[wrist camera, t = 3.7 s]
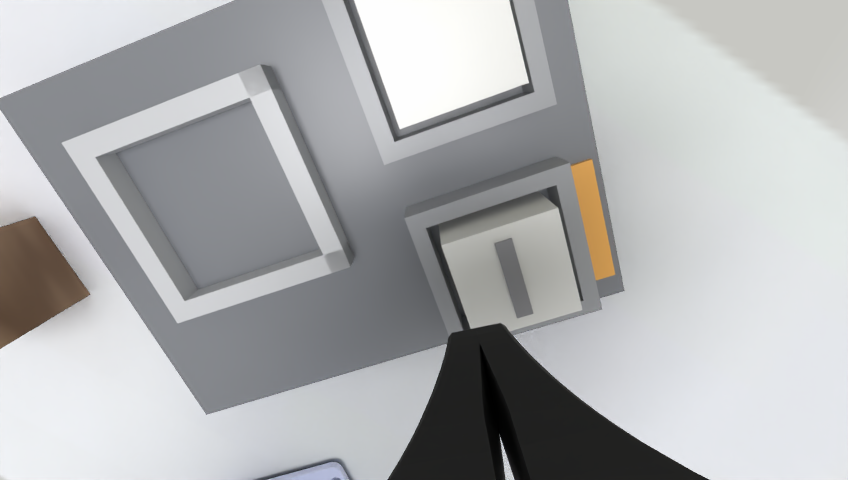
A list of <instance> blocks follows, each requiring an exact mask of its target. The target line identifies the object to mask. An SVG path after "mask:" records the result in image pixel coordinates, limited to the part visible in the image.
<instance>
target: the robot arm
mask: <svg viewBox="0 0 848 480" xmlns="http://www.w3.org/2000/svg"><path fill="white" fill-rule="evenodd" d="M499 434H500V435H499ZM500 437H501V440H502V443H503V446H504V449H505V452H506V455H507V458H508V461H509V464H510V467H511V470H512V473H513V476H514V479H515V480H709V479H707V478H705V477H703V476H701V475H699V474H697V473H695V472H693V471H691V470H690V469H688V468H686V467H684V466H683V465H681V464H679V463H678V462H676V461H674V460H672V459H671V458H669V457H667V456H665V455H664V454H662V453H660V452H658V451H657V450H655V449H653V448H651V447H650V446H648V445H646V444H644V443H643V442H641V441H640V440H638V439H637V438H635V437H633V436H632V435H630V434H629V433H627V432H626V431H624V430H623V429H621V428H620V427H618V426H617V425H615V424H614V423H612V422H611V421H609V420H608V419H607V418H605V417H604V416H602V415H601V414H599V413H598V412H597V411H595V410H594V409H593V408H591V407H590V406H589V405H587V404H586V403H585V402H583V401H582V400H581V399H579V398H578V397H577V396H576V395H574V394H573V393H572V392H571V391H570V390H568V389H567V388H566V387H565V386H564V385H562V384H561V383H560V382H559V381H558V380H557V379H555V378H554V377H553V376H552V375H551V374H550V373H549V372H548V371H547V370H546V369H545V368H543V367H542V366H541V365H540V364H539V363H538V362H537V361H536V360H535V359H534V358H533V357H532V356H531V355H530V354H529V353H528V352H527V351H526V350H525V349H524V348H523V347H522V346H521V344H520V343H519V342H518V341H517V340H516V339H515V338H514V336H513V335H512V334H511V333H510V331H509V330H508V329H507V327H506V326H505V325H503V324H502V323H497V324H492V325H487V326H482V327H478V328H473V329H468V330H463V331H458V332H453V333H451V334H450V336H449V337H448V343H447V348H446V352H445V356H444V360H443V363H442V366H441V370H440V373H439V375H438V378H437V381H436V384H435V387H434V389H433V392H432V395H431V397H430V399H429V402H428V404H427V406H426V409H425V411H424V413H423V415H422V418H421V420H420V422H419V424H418V426H417V428H416V430H415V433H414V435H413V437H412V438H411V440H410V442H409V444H408V446H407V448H406V450H405V451H404V453H403V455H402V457H401V459H400V460H399V462H398V464H397V465H396V467H395V469H394V470H393V472H392V473H391V475H390V477H389V478H388V480H505V473H504V465H503V457H502V450H501V442H500ZM336 477H337V478H336ZM267 480H349V478H348V476H347V474H346V473H345V471H344V469H343V467H342V466H341V465H340V464H339V463H337V462H330V463H326V464H322V465H319V466H315V467H311V468H308V469H304V470H300V471H297V472H293V473H289V474H286V475H282V476H278V477H275V478H271V479H267Z"/></svg>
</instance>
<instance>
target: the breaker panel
mask: <svg viewBox="0 0 848 480" xmlns="http://www.w3.org/2000/svg"><path fill="white" fill-rule="evenodd" d="M0 110H1V111H2V113H3V114H4V116H5V117H6V119H7V120H8V122H9V123H10V125H11V126H12V128H13V129H14V130H15V132H16V133H17V135H18V136H19V138H20V139H21V141H22V142H23V144H24V145H25V147H26V148H27V150H28V151H29V153H30V154H31V156H32V157H33V159H34V160H35V162H36V163H37V165H38V166H39V167H40V169H41V170H42V172H43V173H44V175H45V176H46V178H47V179H48V181H49V182H50V184H51V185H52V187H53V188H54V190H55V191H56V193H57V194H58V196H59V197H60V199H61V200H62V202H63V203H64V204H65V206H66V207H67V209H68V210H69V212H70V213H71V215H72V216H73V218H74V219H75V221H76V222H77V224H78V225H79V227H80V228H81V230H82V231H83V233H84V234H85V236H86V237H87V238H88V240H89V241H90V243H91V244H92V246H93V247H94V249H95V250H96V252H97V253H98V255H99V256H100V258H101V259H102V261H103V262H104V264H105V265H106V267H107V268H108V270H109V271H110V273H111V274H112V275H113V277H114V278H115V280H116V281H117V283H118V284H119V286H120V287H121V289H122V290H123V292H124V293H125V295H126V296H127V298H128V299H129V301H130V302H131V304H132V305H133V307H134V308H135V310H136V311H137V312H138V314H139V315H140V317H141V318H142V320H143V321H144V323H145V324H146V326H147V327H148V329H149V330H150V332H151V333H152V335H153V336H154V338H155V339H156V341H157V342H158V344H159V345H160V347H161V348H162V349H163V351H164V352H165V354H166V355H167V357H168V358H169V360H170V361H171V363H172V364H173V366H174V367H175V369H176V370H177V372H178V373H179V375H180V376H181V378H182V379H183V381H184V382H185V384H186V385H187V386H188V388H189V389H190V391H191V392H192V394H193V395H194V397H195V398H196V400H197V401H198V403H199V404H200V406H201V407H202V409H203V410H204V412H205V413H206V415H207V414H210V413H214V412H217V411H220V410H224V409H227V408H230V407H234V406H237V405H241V404H244V403H247V402H251V401H254V400H257V399H261V398H264V397H268V396H271V395H274V394H278V393H281V392H284V391H288V390H291V389H295V388H298V387H301V386H305V385H308V384H311V383H315V382H318V381H322V380H325V379H328V378H332V377H335V376H339V375H342V374H345V373H349V372H352V371H355V370H359V369H362V368H366V367H369V366H372V365H376V364H379V363H382V362H386V361H389V360H393V359H396V358H399V357H403V356H406V355H409V354H413V353H416V352H420V351H423V350H426V349H430V348H433V347H436V346H440V345H443V344H447V343H448V337H449V336H450V334H451V333H453V332H458V331H463V330H468V329H471V328H470V325H469V323H468V320H467V317H466V314H465V311H464V308H463V306H462V303H461V300H460V297H459V294H458V291H457V289H456V286H455V283H454V280H453V277H452V275H451V272H450V269H449V266H448V263H447V260H446V258H445V255H444V252H443V249H442V246H441V240H440V232H439V225H438V224H440V223H443V222H446V221H449V220H452V219H455V218H458V217H461V216H464V215H467V214H470V213H473V212H476V211H479V210H482V209H485V208H488V207H491V206H494V205H497V204H500V203H503V202H506V201H509V200H512V199H515V198H518V197H521V196H524V195H527V194H530V193H533V192H536V191H539V192H540V193H541V194H542V195H543V196H545V197H546V198H547V199H548V200H549V201H551V202H552V203H553V204H554V205H555V206H557V207H558V209H559V213H560V218H561V222H562V226H563V230H564V234H565V239H566V243H567V247H568V251H569V255H570V259H571V264H572V268H573V272H574V276H575V280H576V285H577V289H578V293H579V297H580V301H581V306H582V310H581V311H577V312H574V313H571V314H567V315H564V316H560V317H557V318H554V319H550V320H547V321H544V322H540V323H537V324H533V325H530V326H527V327H523V328H520V329H516V330H513V331H510V333H511V334H512V335H516V334H519V333H522V332H526V331H529V330H533V329H536V328H539V327H543V326H546V325H550V324H553V323H557V322H560V321H563V320H567V319H570V318H574V317H577V316H580V315H584V314H587V313H591V312H594V311H597V310H601V309H602V307H601V302H600V298H602V297H605V296H609V295H612V294H615V293H619V292H622V291H624V287H623V282H622V276H621V271H620V266H619V261H618V256H617V251H616V246H615V240H614V235H613V230H612V225H611V220H610V215H609V210H608V204H607V199H606V194H605V189H604V184H603V179H602V174H601V168H600V163H599V158H598V153H597V148H596V143H595V138H594V132H593V127H592V122H591V117H590V112H589V107H588V102H587V96H586V91H585V86H584V81H583V76H582V71H581V66H580V60H579V55H578V50H577V45H576V40H575V35H574V30H573V24H572V19H571V14H570V9H569V4H568V0H234V1H232V2H229V3H227V4H225V5H222V6H220V7H217V8H215V9H213V10H210V11H208V12H205V13H203V14H201V15H198V16H196V17H193V18H191V19H189V20H186V21H184V22H181V23H179V24H177V25H174V26H172V27H170V28H167V29H165V30H162V31H160V32H158V33H155V34H153V35H150V36H148V37H146V38H143V39H141V40H138V41H136V42H134V43H131V44H129V45H126V46H124V47H122V48H119V49H117V50H114V51H112V52H110V53H107V54H105V55H102V56H100V57H98V58H95V59H93V60H90V61H88V62H86V63H83V64H81V65H78V66H76V67H74V68H71V69H69V70H66V71H64V72H62V73H59V74H57V75H54V76H52V77H50V78H47V79H45V80H42V81H40V82H38V83H35V84H33V85H31V86H28V87H26V88H23V89H21V90H19V91H16V92H14V93H11V94H9V95H7V96H4V97H2V98H0Z"/></svg>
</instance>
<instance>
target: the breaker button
mask: <svg viewBox="0 0 848 480" xmlns="http://www.w3.org/2000/svg"><path fill="white" fill-rule="evenodd" d="M438 225H439V232H440V240H441V246H442V249H443V252H444V255H445V258H446V260H447V263H448V266H449V269H450V272H451V275H452V277H453V280H454V283H455V286H456V289H457V291H458V294H459V297H460V300H461V303H462V306H463V308H464V311H465V314H466V317H467V320H468V323H469V325H470V328H471V329H473V328H478V327H482V326H487V325H492V324H497V323H502V324H503V325H505V326H506V327H507V329H508V330H509V331H513V330H516V329H520V328H523V327H527V326H530V325H533V324H537V323H540V322H544V321H547V320H550V319H554V318H557V317H560V316H564V315H567V314H571V313H574V312H577V311H581V310H582V306H581V301H580V297H579V293H578V289H577V285H576V280H575V276H574V272H573V268H572V264H571V259H570V255H569V251H568V247H567V243H566V239H565V234H564V230H563V226H562V222H561V218H560V213H559V209H558V207H557V206H555V205H554V204H553V203H552V202H551V201H549V200H548V199H547V198H546V197H545V196H543V195H542V194H541V193H540V192H539V191H536V192H533V193H530V194H527V195H524V196H521V197H518V198H515V199H512V200H509V201H506V202H503V203H500V204H497V205H494V206H491V207H488V208H485V209H482V210H479V211H476V212H473V213H470V214H467V215H464V216H461V217H458V218H455V219H452V220H449V221H446V222H443V223H440V224H438Z"/></svg>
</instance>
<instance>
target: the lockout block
mask: <svg viewBox="0 0 848 480" xmlns="http://www.w3.org/2000/svg"><path fill="white" fill-rule="evenodd" d="M89 295H90V293H89V292H88V290H87V289H86V288H85V286H84V285H83V283H82V282H81V280H80V279H79V278H78V276H77V275H76V273H75V272H74V271H73V269H72V268H71V266H70V265H69V264H68V262H67V261H66V259H65V258H64V257H63V255H62V254H61V252H60V251H59V249H58V248H57V247H56V245H55V244H54V242H53V241H52V240H51V238H50V237H49V235H48V234H47V233H46V231H45V230H44V228H43V227H42V225H41V224H40V223H39V221H38V220H37V218H36V217H32V218H29V219H26V220H22V221H19V222H16V223H13V224H10V225H7V226H4V227H0V349H1V348H2V347H4V346H6V345H7V344H9V343H11V342H12V341H14V340H16V339H17V338H19V337H21V336H22V335H24V334H26V333H27V332H29V331H31V330H32V329H34V328H36V327H37V326H39V325H41V324H42V323H44V322H46V321H47V320H49V319H50V318H52V317H54V316H55V315H57V314H59V313H60V312H62V311H64V310H65V309H67V308H69V307H70V306H72V305H74V304H75V303H77V302H79V301H80V300H82V299H84V298H85V297H87V296H89Z"/></svg>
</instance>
